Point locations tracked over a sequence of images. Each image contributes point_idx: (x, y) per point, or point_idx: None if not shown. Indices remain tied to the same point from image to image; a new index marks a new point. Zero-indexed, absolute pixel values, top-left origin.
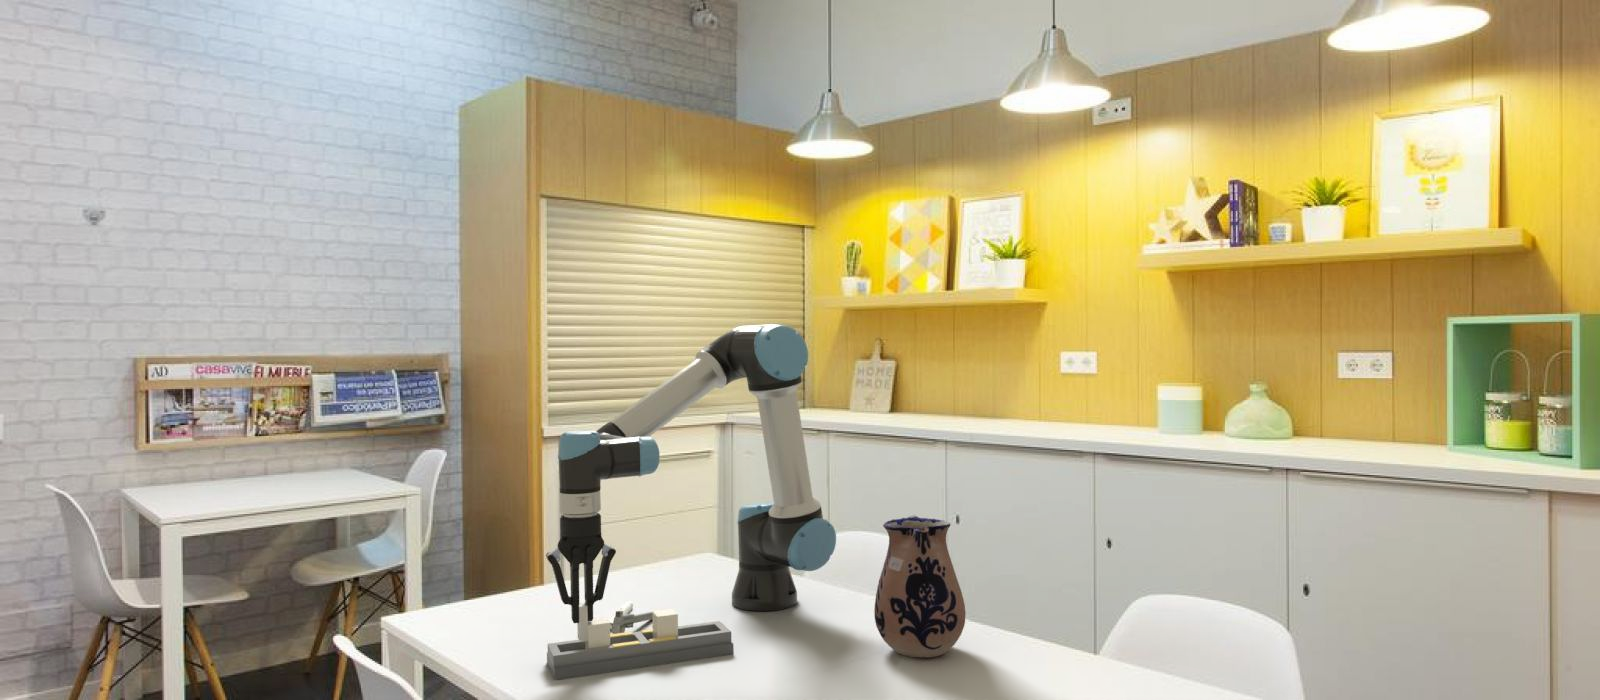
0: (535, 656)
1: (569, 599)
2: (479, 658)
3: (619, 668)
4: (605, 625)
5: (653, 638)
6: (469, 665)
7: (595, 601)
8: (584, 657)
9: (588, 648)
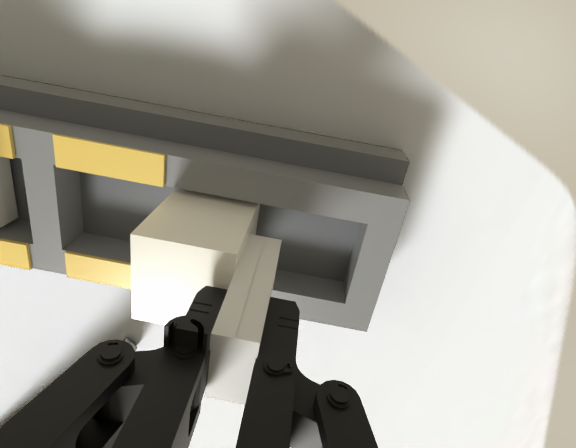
0: (360, 362)
1: (311, 409)
2: (486, 423)
3: (177, 110)
4: (156, 232)
5: (5, 214)
6: (535, 396)
7: (150, 351)
8: (287, 170)
9: (255, 212)
